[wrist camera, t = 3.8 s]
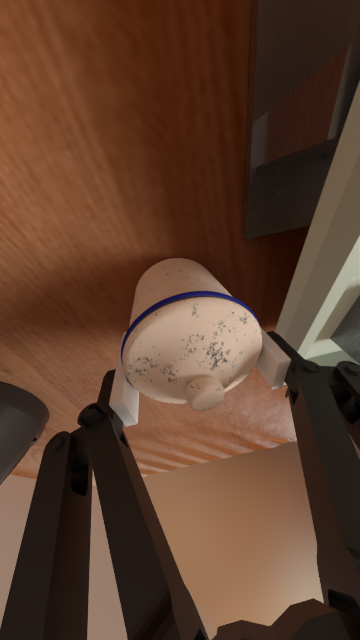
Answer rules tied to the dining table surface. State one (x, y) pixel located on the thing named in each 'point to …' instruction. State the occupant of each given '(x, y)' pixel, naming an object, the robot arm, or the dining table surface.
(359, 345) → the block
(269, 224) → the fulcrum
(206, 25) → the dining table surface
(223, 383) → the teacup with lid
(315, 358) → the divided tray
